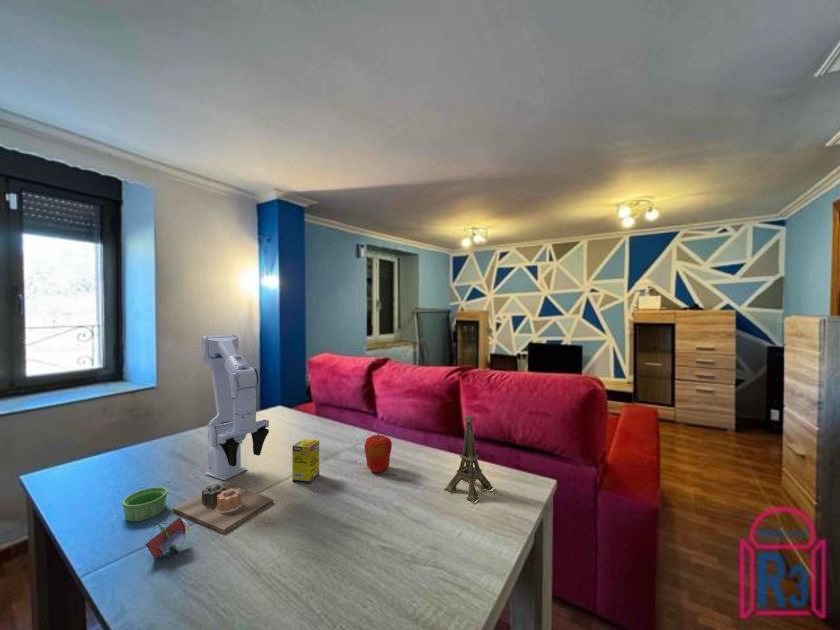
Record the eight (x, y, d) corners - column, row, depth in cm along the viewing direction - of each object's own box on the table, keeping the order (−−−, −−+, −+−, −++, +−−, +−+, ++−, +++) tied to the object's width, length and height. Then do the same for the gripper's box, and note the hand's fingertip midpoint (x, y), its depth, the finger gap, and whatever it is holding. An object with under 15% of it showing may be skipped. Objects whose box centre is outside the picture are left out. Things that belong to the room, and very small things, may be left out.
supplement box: (310, 484, 101) (310, 447, 101) (291, 482, 103) (291, 445, 103) (320, 474, 107) (319, 439, 107) (302, 472, 109) (302, 438, 108)
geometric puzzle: (144, 564, 67) (172, 518, 71) (130, 551, 70) (157, 508, 74) (178, 567, 72) (202, 524, 76) (163, 555, 75) (187, 515, 79)
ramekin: (117, 527, 82) (117, 509, 81) (128, 508, 89) (128, 491, 89) (164, 517, 86) (163, 499, 86) (170, 499, 94) (170, 483, 94)
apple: (359, 473, 108) (359, 436, 108) (373, 462, 116) (372, 427, 116) (384, 478, 105) (383, 439, 105) (396, 466, 113) (395, 430, 112)
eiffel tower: (443, 490, 98) (443, 403, 97) (465, 477, 105) (464, 396, 105) (474, 504, 91) (474, 410, 90) (495, 489, 98) (495, 402, 98)
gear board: (172, 511, 88) (172, 494, 88) (224, 486, 100) (224, 471, 100) (223, 533, 79) (223, 514, 79) (273, 502, 92) (273, 486, 91)
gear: (212, 508, 87) (212, 496, 87) (232, 497, 92) (232, 486, 92) (226, 513, 85) (226, 501, 85) (245, 502, 90) (245, 491, 90)
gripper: (229, 421, 88) (230, 474, 88) (276, 407, 101) (276, 452, 101) (212, 417, 91) (212, 468, 92) (259, 404, 104) (260, 448, 104)
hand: (245, 459), depth 97 cm, fingers open, 7 cm apart
